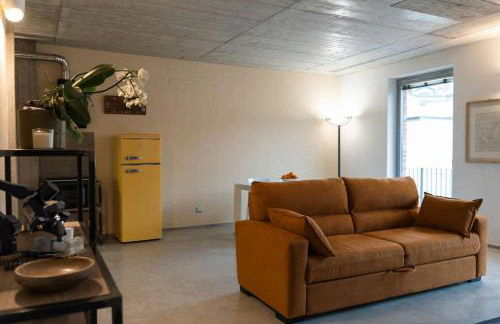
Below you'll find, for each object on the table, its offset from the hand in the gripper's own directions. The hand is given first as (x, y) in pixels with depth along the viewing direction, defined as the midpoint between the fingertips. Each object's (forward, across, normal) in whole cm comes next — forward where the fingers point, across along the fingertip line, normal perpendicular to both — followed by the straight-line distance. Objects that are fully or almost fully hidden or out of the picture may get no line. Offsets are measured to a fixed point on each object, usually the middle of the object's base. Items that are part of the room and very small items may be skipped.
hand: (63, 235), depth 169 cm
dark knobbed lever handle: (0, 0, +7) cm, 7 cm away
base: (+3, 0, +8) cm, 9 cm away
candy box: (-29, +49, +40) cm, 69 cm away
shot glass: (-4, +18, +15) cm, 24 cm away
